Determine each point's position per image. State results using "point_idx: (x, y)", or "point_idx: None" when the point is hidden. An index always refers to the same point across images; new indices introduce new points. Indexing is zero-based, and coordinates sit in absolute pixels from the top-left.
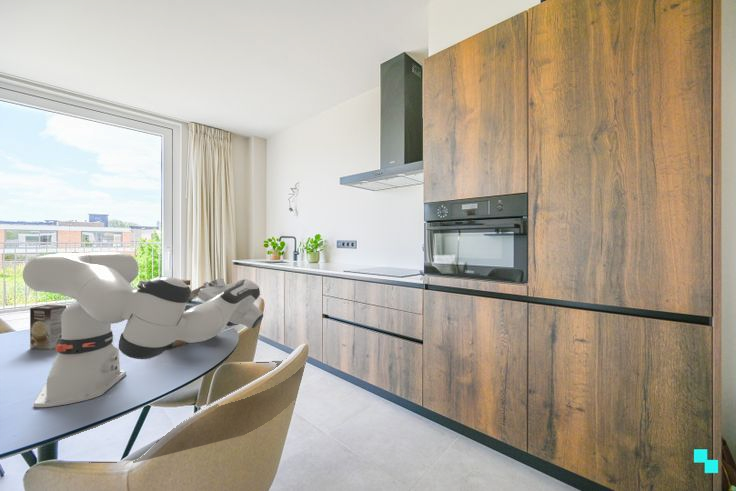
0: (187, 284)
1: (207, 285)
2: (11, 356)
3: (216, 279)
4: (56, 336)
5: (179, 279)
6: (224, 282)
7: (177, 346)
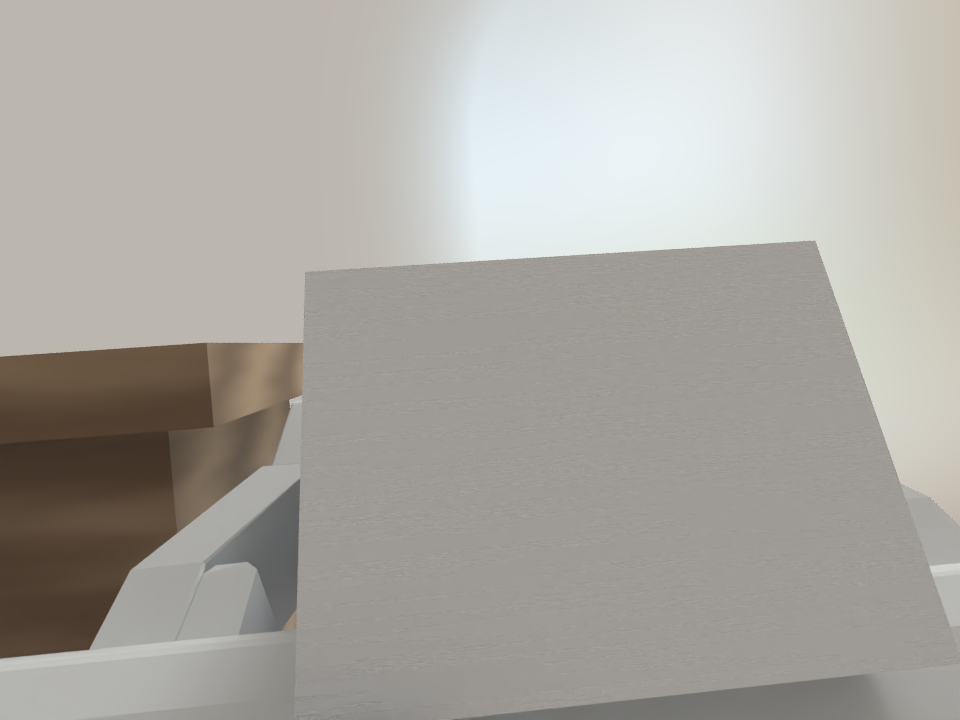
0: (149, 417)
1: (206, 511)
2: None
3: (334, 273)
4: None
5: (280, 343)
6: (885, 480)
7: None
